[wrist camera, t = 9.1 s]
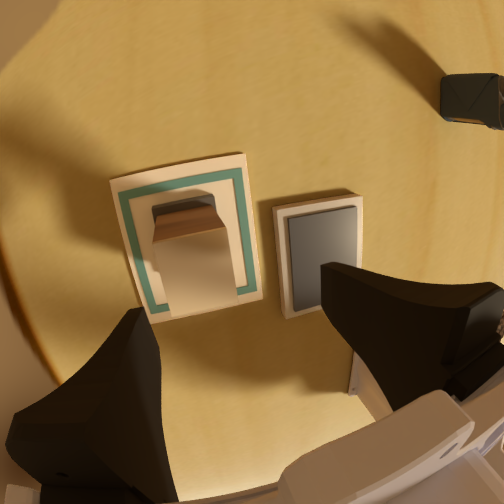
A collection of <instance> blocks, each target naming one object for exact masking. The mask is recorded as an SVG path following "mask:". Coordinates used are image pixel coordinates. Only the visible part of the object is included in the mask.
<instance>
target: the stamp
mask: <svg viewBox="0 0 504 504" xmlns="http://www.w3.org/2000/svg"><path fill="white" fill-rule="evenodd" d="M151 210H152V215H153V219H154V224H155V229H154V235H153V241H152V246H153V250H154V254H155V258H156V262H157V266H158V269H159V273H160V277H161V281H162V284H163V288H164V291H165V295H166V298H167V302H168V305H169V308H170V312H171V315H172V317H176V316H180V315H185V314H190V313H194V312H199V311H203V310H208V309H212V308H217V307H221V306H226V305H230V304H234V303H238V302H239V301H238V295H237V289H236V283H235V277H234V270H233V264H232V258H231V252H230V245H229V239H228V232H227V228H226V226H225V225H224V223H223V222H222V220H221V219H220V217H219V215H218V214H217V210H216V204H215V197H214V195H213V194H208V195H202V196H197V197H192V198H187V199H182V200H177V201H172V202H168V203H163V204H158V205H154V206H152V209H151Z"/></svg>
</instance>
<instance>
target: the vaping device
mask: <svg viewBox="0 0 504 504" xmlns="http://www.w3.org/2000/svg"><path fill="white" fill-rule="evenodd" d="M441 116H442V117H443V118H444V119H445V120H446V121H449V122H451V121H453V122H462V123H472V124H481V125H486V126H487V127H488V128H492V129H494V130H496V129H498V130H504V76H499V75H498V74H495V73H473V74H451V75H447V76H446V77H444V78H442V80H441Z"/></svg>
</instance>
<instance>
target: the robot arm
mask: <svg viewBox="0 0 504 504" xmlns="http://www.w3.org/2000/svg"><path fill="white" fill-rule="evenodd" d="M320 274H321V307H322V309H323V310H324V312H325V314H326V316H327V317H328V319H329V320H330V322H331V324H332V325H333V326H334V327H335V328H336V330H337V331H338V332H339V333H340V334H341V336H342V337H343V338H344V339H345V340H346V341H347V343H348V344H349V345H350V346H351V347H352V349H353V350H354V356H353V364H352V371H351V378H350V385H349V391H348V395H349V396H350V397H352V396H354V395H357V396H358V397H359V398H360V400H361V401H362V402H363V404H364V405H365V407H366V408H367V409H368V411H369V412H370V413H371V415H372V416H373V417H374V419H375V420H376V422H373V423H371V424H369V425H367V426H365V427H363V428H361V429H359V430H357V431H354V432H352V433H350V434H348V435H345V436H343V437H341V438H338V439H336V440H334V441H331V442H329V443H326V444H324V445H322V446H320V447H318V448H316V449H314V450H312V451H310V452H308V453H306V454H304V455H302V456H301V457H299V458H298V459H297V460H295V461H294V462H293V463H291V464H290V465H289V466H287V467H286V468H285V469H284V471H283V472H282V474H281V477H280V479H279V481H278V482H274V483H271V484H268V485H264V486H260V487H256V488H252V489H248V490H244V491H240V492H236V493H231V494H226V495H221V496H216V497H210V498H204V499H198V500H191V501H183V502H179V500H178V496H177V493H176V489H175V486H174V482H173V478H172V474H171V470H170V465H169V461H168V456H167V451H166V445H165V440H164V433H163V427H162V416H161V360H160V351H159V346H158V343H157V341H156V338H155V336H154V333H153V330H152V328H151V325H150V322H149V319H148V317H147V314H146V311H145V308H144V306H143V307H138V308H134V309H129V310H128V311H127V313H126V314H125V315H124V317H123V318H122V319H121V321H120V322H119V323H118V325H117V326H116V327H115V329H114V330H113V331H112V333H111V334H110V335H109V337H108V338H107V339H106V341H105V342H104V343H103V344H102V345H101V347H100V348H99V349H98V350H97V352H96V353H95V354H94V355H93V356H92V357H91V358H90V359H89V361H88V362H87V363H86V364H85V365H84V366H83V367H82V368H81V369H80V370H79V371H77V372H76V373H75V374H74V375H73V376H72V377H70V378H69V379H68V380H67V381H66V382H64V383H63V384H62V385H61V386H60V387H58V388H57V389H56V390H54V391H53V392H51V393H50V394H48V395H47V396H46V397H44V398H42V399H41V400H39V401H38V402H36V403H34V404H32V405H30V406H28V407H27V408H25V409H23V410H21V411H19V412H17V413H15V414H14V417H13V420H12V423H11V426H10V429H9V433H8V436H7V439H6V443H5V446H6V450H7V452H8V453H9V455H10V456H11V458H12V459H13V460H14V461H15V462H16V463H17V464H18V465H19V466H20V467H21V468H22V469H24V470H25V471H26V472H27V473H28V474H29V475H31V476H32V477H33V478H35V479H36V480H37V481H38V482H39V483H41V484H42V486H41V492H39V491H37V490H35V489H32V488H27V487H22V486H17V485H12V484H8V485H7V490H6V496H5V503H4V504H504V451H503V449H502V447H503V443H504V345H503V344H502V343H500V342H499V341H500V340H501V335H500V334H498V333H497V332H496V331H497V328H498V325H499V322H500V319H501V317H502V314H503V310H504V289H503V288H501V287H499V286H498V285H496V284H494V283H492V282H483V283H474V284H456V285H448V284H430V283H420V282H414V281H408V280H402V279H397V278H393V277H389V276H385V275H381V274H378V273H374V272H371V271H367V270H364V269H361V268H357V267H354V266H351V265H347V264H343V263H339V262H329V263H325V264H322V265H320Z"/></svg>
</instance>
